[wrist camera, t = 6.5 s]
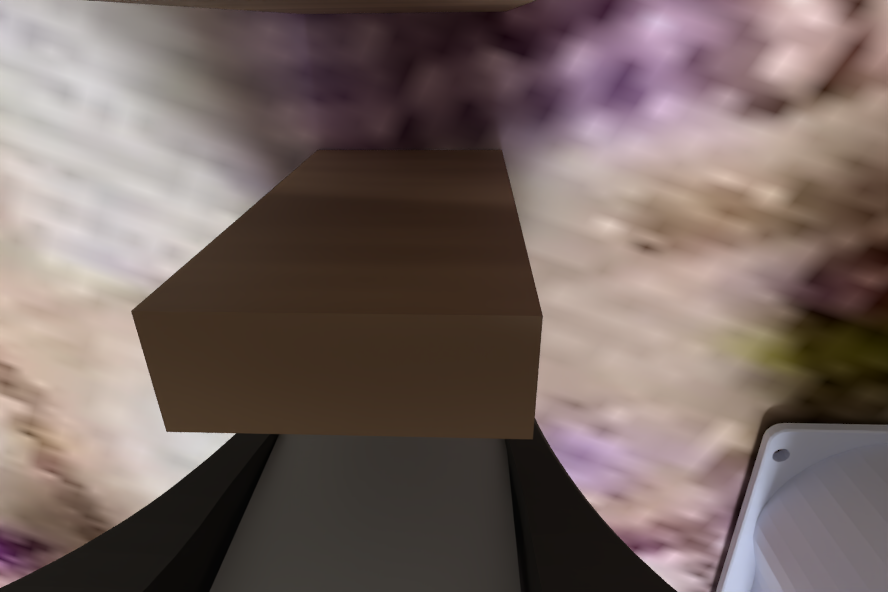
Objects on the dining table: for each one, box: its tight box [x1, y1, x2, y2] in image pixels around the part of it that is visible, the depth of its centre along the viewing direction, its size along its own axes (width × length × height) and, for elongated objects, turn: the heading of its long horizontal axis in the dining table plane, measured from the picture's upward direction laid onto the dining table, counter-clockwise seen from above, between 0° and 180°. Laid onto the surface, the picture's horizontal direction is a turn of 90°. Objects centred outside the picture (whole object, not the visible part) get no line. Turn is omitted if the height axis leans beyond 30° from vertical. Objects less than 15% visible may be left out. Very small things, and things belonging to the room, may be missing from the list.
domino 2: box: [210, 434, 521, 592], centre depth 12 cm, size 2×5×9 cm, turn 90°
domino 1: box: [131, 150, 543, 439], centre depth 11 cm, size 2×5×9 cm, turn 90°
